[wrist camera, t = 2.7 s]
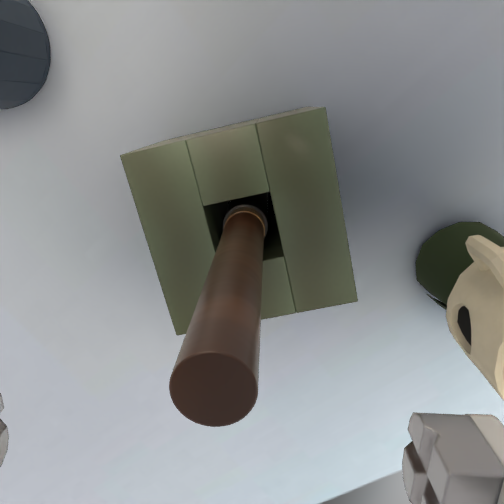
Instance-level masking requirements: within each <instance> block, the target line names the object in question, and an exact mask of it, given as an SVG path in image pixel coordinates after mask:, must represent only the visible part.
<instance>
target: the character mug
mask: <svg viewBox="0 0 504 504" xmlns="http://www.w3.org/2000/svg"><path fill="white" fill-rule="evenodd" d="M416 276H417V281H418V282H419V283H420V284H421V285H422V286H423V287H424V288H425V289H427V290H428V291H429V292H430V293H431V294H432V295H434V296H435V297H436V298H438V299H439V300H440V301H439V300H436V299H434V298H432V297H431V296H430V295H428V294H427V295H428V296H429V297H430V298H431V299H433V300H434V301H435V302H436V303H437V304H439V305H440V306H441V307H443V308H444V309H446V310H447V311H446V319H447V323H448V326H449V329H450V332H451V333H452V335H453V337H454V339H455V340H456V342H457V343H458V344H459V345H460V347H461V348H462V349H463V351H464V352H465V354H466V355H467V356H468V358H469V359H470V360H471V361H472V362H473V363H474V365H475V366H476V367H477V368H478V369H479V370H480V372H481V373H482V374H483V375H484V377H485V378H486V379H487V380H488V382H489V383H490V384H491V385H492V387H493V388H494V389H495V390H496V392H497V393H498V394H499V395H500V397H501V398H502V399H503V400H504V237H503V236H502V235H501V234H499V233H498V232H497V231H495V230H494V229H492V228H490V227H488V226H486V225H484V224H482V223H480V222H458V223H456V224H453V225H451V226H449V227H446V228H444V229H441V230H439V231H438V232H437V233H435V234H434V235H433V236H432V237H431V238H430V239H428V240H427V241H426V242H425V243H424V244H423V245H422V247H421V250H420V252H419V255H418V257H417V260H416ZM441 301H442V302H441Z"/></svg>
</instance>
